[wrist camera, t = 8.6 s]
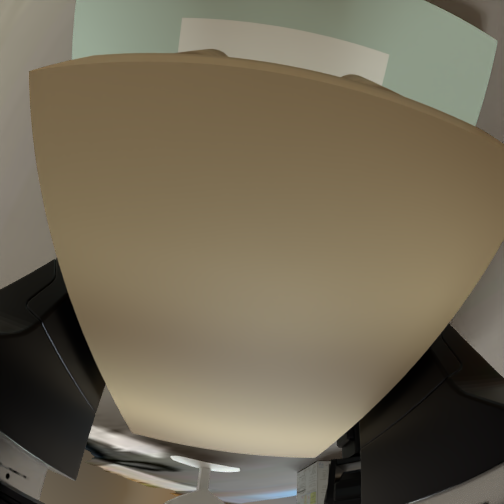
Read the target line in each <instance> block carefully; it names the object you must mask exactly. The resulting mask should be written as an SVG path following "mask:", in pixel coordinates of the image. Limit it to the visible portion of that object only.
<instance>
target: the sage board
mask: <svg viewBox="0 0 504 504" xmlns="http://www.w3.org/2000/svg"><path fill="white" fill-rule="evenodd" d="M497 42H498V41H497V40H495V39H494V38H492V37H491V36H489V35H488V34H486V33H484V32H483V31H481V30H479V29H478V28H476V27H474V26H473V25H471V24H469V23H468V22H466V21H464V20H462V19H460V18H459V17H457V16H455V15H453V14H451V13H449V12H447V11H445V10H443V9H441V8H439V7H437V6H435V5H433V4H431V3H429V2H427V1H425V0H76V7H75V17H74V28H73V44H72V60H74V59H78V58H83V57H88V56H93V55H105V54H123V53H179V52H186V51H194V50H204V49H216V50H220V51H222V52H224V53H225V54H226V55H227V56H228V57H234V58H242V59H250V60H258V61H264V62H271V63H277V64H282V65H288V66H293V67H298V68H303V69H308V70H313V71H317V72H322V73H326V74H330V75H334V76H338V77H342V76H344V75H348V74H355V75H359V76H361V77H364V78H366V79H368V80H370V81H373V82H375V83H377V84H379V85H381V86H383V87H386V88H388V89H390V90H392V91H394V92H396V93H398V94H400V95H402V96H404V97H407V98H409V99H412V100H415V101H417V102H420V103H423V104H425V105H428V106H430V107H433V108H435V109H437V110H440V111H442V112H445V113H447V114H449V115H451V116H454V117H456V118H458V119H460V120H463V121H465V122H467V123H469V124H471V125H473V126H476V123H477V119H478V116H479V113H480V110H481V107H482V103H483V100H484V96H485V93H486V89H487V86H488V82H489V78H490V74H491V70H492V66H493V61H494V57H495V52H496V47H497Z"/></svg>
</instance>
